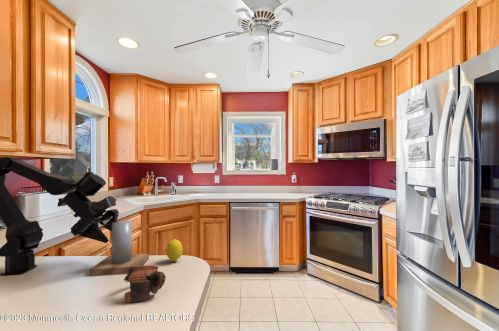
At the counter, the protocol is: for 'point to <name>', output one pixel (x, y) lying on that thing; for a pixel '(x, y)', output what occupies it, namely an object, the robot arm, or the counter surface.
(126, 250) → the grey cylinder
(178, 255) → the lemon
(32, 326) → the counter surface
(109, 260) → the shelf board
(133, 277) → the pottery mug
